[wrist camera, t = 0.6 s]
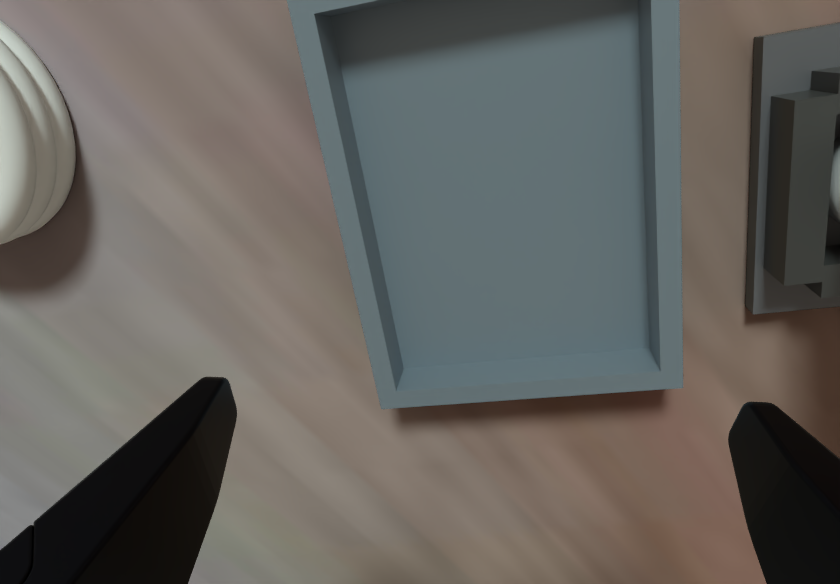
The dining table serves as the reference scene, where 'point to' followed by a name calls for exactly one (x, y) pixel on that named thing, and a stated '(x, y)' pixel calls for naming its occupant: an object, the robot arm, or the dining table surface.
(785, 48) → the grey piece
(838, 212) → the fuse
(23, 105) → the white round disc
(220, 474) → the robot arm
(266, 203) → the dining table surface
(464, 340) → the parts tray
